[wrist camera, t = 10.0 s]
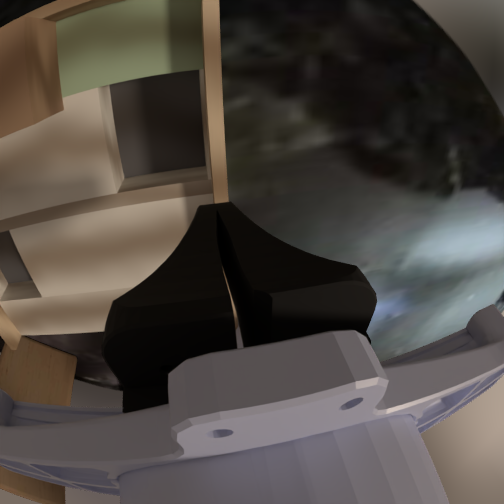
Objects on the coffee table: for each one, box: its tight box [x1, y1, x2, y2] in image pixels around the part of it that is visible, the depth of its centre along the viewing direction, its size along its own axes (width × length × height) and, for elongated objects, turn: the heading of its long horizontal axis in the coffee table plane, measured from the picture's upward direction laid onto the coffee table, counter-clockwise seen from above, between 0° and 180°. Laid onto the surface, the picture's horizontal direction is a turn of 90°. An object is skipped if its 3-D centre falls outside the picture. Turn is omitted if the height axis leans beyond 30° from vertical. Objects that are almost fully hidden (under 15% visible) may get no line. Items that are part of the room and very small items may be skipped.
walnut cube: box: [0, 16, 64, 138], centre depth 9 cm, size 6×6×4 cm
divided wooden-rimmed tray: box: [0, 0, 238, 350], centre depth 17 cm, size 26×24×5 cm
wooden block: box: [0, 335, 77, 504], centre depth 22 cm, size 10×10×20 cm
